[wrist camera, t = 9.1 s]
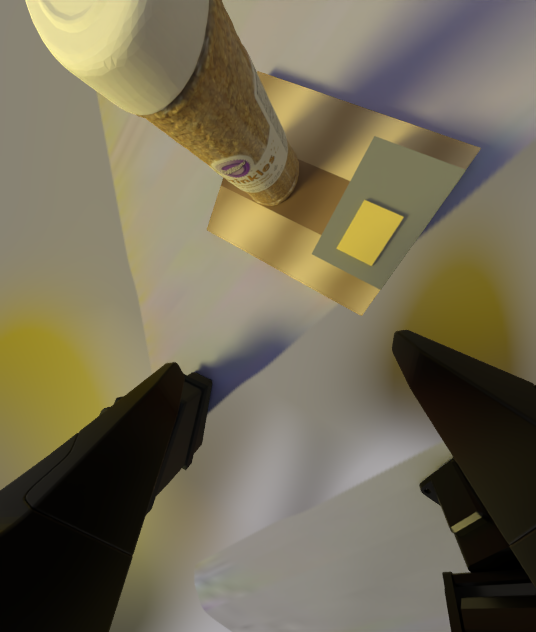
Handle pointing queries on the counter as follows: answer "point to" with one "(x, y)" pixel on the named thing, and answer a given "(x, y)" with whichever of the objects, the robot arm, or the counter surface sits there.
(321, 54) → the counter surface
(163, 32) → the sprinkles bottle
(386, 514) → the counter surface
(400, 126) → the plywood board
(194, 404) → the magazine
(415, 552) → the counter surface
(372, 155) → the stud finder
